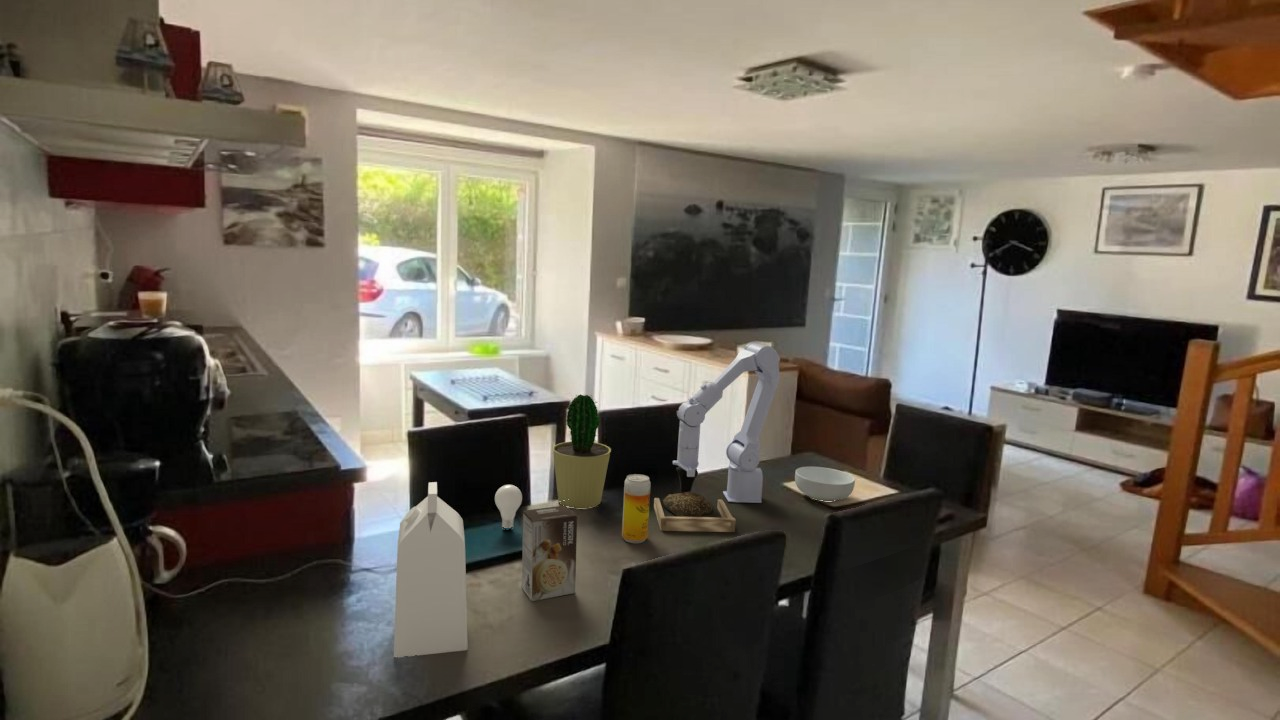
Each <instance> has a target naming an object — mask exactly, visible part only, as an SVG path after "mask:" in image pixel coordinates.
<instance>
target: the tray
mask: <svg viewBox="0 0 1280 720" xmlns="http://www.w3.org/2000/svg"><path fill="white" fill-rule="evenodd" d="M653 509H654V512H655V515H656V519H657V522H658V526H659V530H660V531H661V532H662V531H664V532H666V531H667V532H669V531H670V532H710V533H711V532H715V533H717V532H718V533H719V532H720V533H723V532H724V533H735V532H736V521H737V520H736V518H735V517H733V516H732V514H731V512H730V510H729V509H728V507H727V505H726V504H725V502H724V501H723V499H717V508H716V509H717V511H718V513H719V514H720V516H721V517H712V516H711V517H710V516H694V517H682V516H670V515H669V516H665V513H664V510H663V506H662V503H661V500H660V498H659V497H654V499H653Z"/></svg>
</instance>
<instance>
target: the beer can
mask: <svg viewBox="0 0 1280 720" xmlns="http://www.w3.org/2000/svg"><path fill="white" fill-rule="evenodd" d="M651 483H652V482H651V481H650V477H649V476H648V475H645V474H638V473H637V474H636V473H634V474H632V473H631V474H628V475H626V478H625V480H624V484H623V485H624V487H623V503H622V504H623V505H622V506H623V508H622V525H621V526H622V527H621V537H622V538H623V539H624V541H625V542H628V543H631V544H641V543H644V542H645V541H646V539H648V536H649V519H650V517H649V516H650V502H651V500H650V499H651V487H652V486H651Z"/></svg>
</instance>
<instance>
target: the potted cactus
mask: <svg viewBox="0 0 1280 720" xmlns="http://www.w3.org/2000/svg"><path fill="white" fill-rule="evenodd" d="M571 399H572V400H570V401H569V404H568V403H567V410H565V414H564V415H565V417H563V419H564V423H565V428H566V429H567V430H570V431H569V433H570V434H569V436H570V437H569V440H570V441H564V442H560V443H557V444H555V445H553V447H552V452H553V453H552V454H553V463H554V471H555V482H556V489H557V500H558V504H559V503H561V505H560V506H562V505H565V506H569V507H574V508H589V507H593V506H597V505H598V504H600V505H601V501H602V497H603V492H604V491H603V490H604V486H605V481H606V476H607V470H608V465H609V462H610V456H611V452H612V448H611V447H610V446H607V444H603V443H600V442H597V440H596V437H599V435H597V434H598V433H599V432H598V428H601V427H602V426H601V425H602V424H600V423H601V420H602V418H601V417H599V414H602V413H603V412H598V411H599V406H597V405H596V404H597V403H598V401H595V400H594V398H593V394H591V395H588V394H583V395H582V394H575V396H574V397H573V398H572V397H571ZM568 499H569V500H568ZM563 500H565V501H563ZM559 501H561V502H559ZM597 507H598V506H597Z"/></svg>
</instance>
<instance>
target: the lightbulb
mask: <svg viewBox="0 0 1280 720" xmlns="http://www.w3.org/2000/svg"><path fill="white" fill-rule="evenodd" d="M522 501H523V494H522V492H521V490H520V489H519V487H517V486H515V485H513V484H504V485H502V486H501V487H499V488H498V489H497V491H496V492H495V495H494V502H495V505H496V507H497V509H498V510H499V512H500V516H501V528H502V527H504V528H511V527H513V528H514V521H515V517H516V512H517V511H518V509H519V508H520V506H521V505H522V503H523V502H522Z"/></svg>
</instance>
